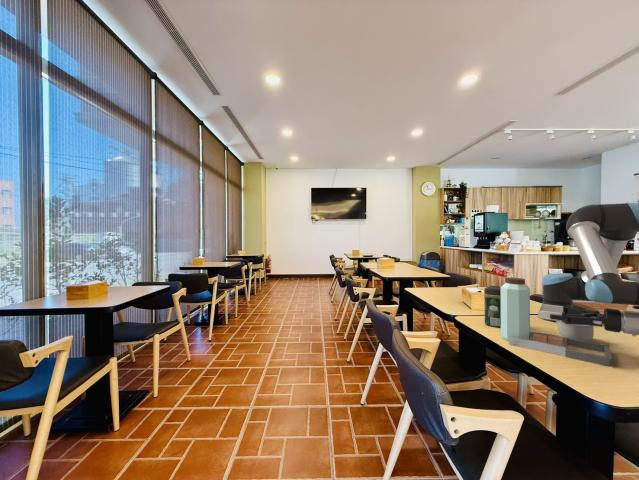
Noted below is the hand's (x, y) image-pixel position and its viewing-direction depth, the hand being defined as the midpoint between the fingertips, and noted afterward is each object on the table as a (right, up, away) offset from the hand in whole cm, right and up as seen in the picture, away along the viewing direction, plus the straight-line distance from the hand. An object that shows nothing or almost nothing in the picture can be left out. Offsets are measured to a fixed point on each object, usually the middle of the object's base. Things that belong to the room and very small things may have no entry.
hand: (539, 310), depth 107 cm
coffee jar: (-1, -14, +26) cm, 29 cm away
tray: (+9, -13, -8) cm, 18 cm away
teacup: (+19, -14, +7) cm, 24 cm away
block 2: (+4, -13, -3) cm, 14 cm away
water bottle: (-6, -14, +6) cm, 16 cm away
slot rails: (0, -13, +1) cm, 13 cm away
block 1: (0, -14, 0) cm, 14 cm away
